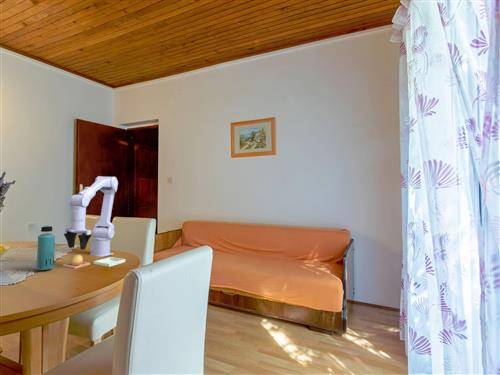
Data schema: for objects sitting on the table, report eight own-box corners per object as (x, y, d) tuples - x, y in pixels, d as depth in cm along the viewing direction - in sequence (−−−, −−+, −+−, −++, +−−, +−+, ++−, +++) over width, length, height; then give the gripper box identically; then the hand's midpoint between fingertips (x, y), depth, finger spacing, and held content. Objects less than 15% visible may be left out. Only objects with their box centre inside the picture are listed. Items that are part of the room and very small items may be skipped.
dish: (62, 267, 127) (62, 264, 127) (78, 263, 135) (78, 260, 135) (74, 269, 125) (74, 267, 125) (90, 265, 132) (90, 262, 132)
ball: (67, 265, 128) (68, 255, 128) (77, 263, 133) (77, 253, 133) (75, 267, 127) (75, 256, 127) (85, 264, 131) (85, 254, 131)
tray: (93, 265, 133) (93, 261, 133) (110, 260, 142) (110, 256, 142) (109, 267, 129) (109, 264, 129) (125, 262, 139) (125, 259, 139)
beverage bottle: (44, 274, 117) (46, 227, 117) (31, 272, 119) (33, 226, 119) (57, 269, 124) (59, 225, 124) (45, 268, 125) (47, 225, 125)
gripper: (59, 219, 128) (58, 248, 128) (81, 222, 124) (80, 251, 124) (73, 218, 135) (72, 245, 135) (95, 220, 130) (94, 248, 130)
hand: (77, 248), depth 130 cm, fingers open, 7 cm apart
